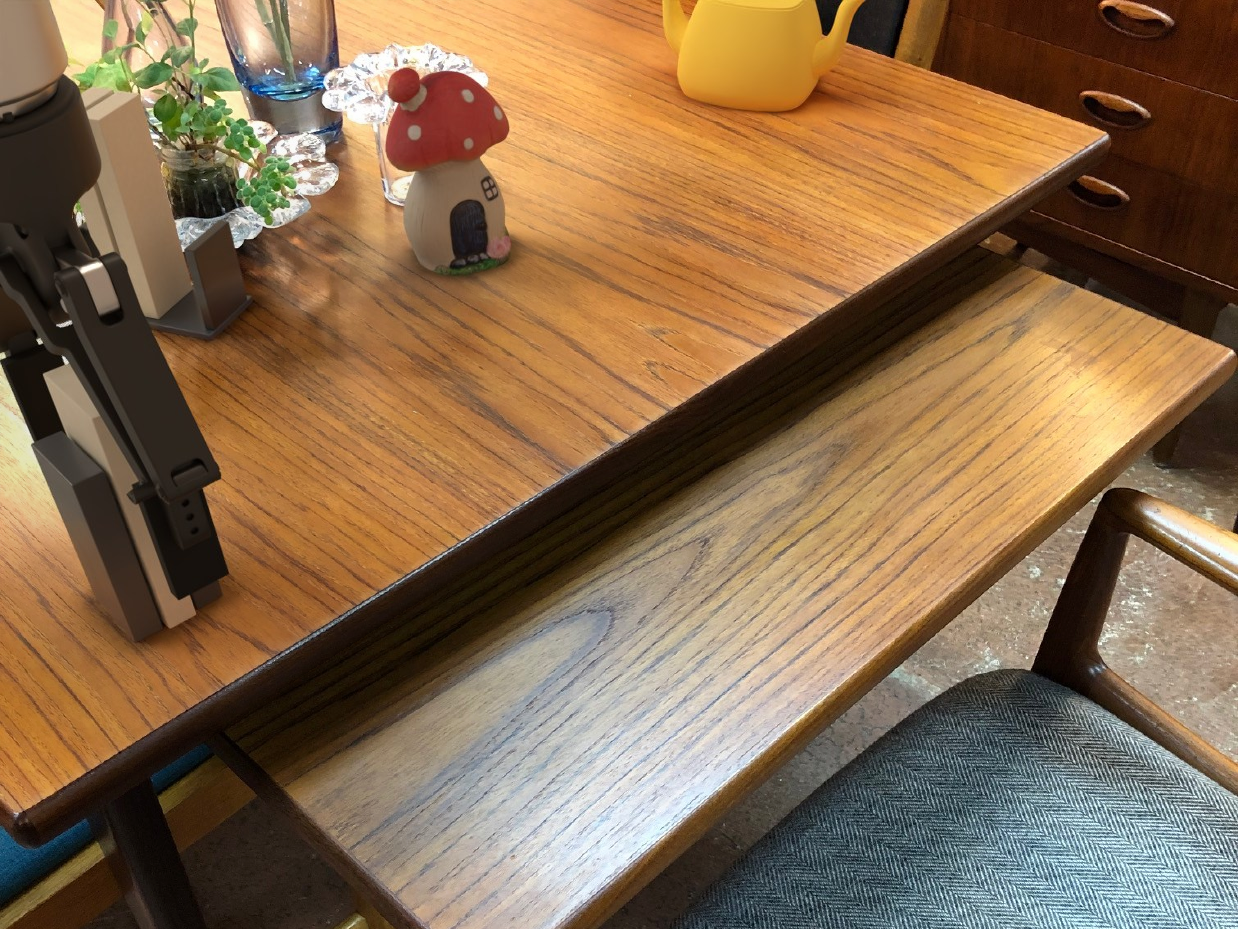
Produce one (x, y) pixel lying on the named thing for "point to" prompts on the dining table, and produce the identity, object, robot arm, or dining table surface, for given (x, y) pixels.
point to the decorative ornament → (449, 170)
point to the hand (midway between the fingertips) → (132, 517)
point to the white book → (114, 484)
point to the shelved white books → (133, 202)
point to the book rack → (207, 288)
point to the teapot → (754, 50)
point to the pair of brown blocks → (102, 537)
